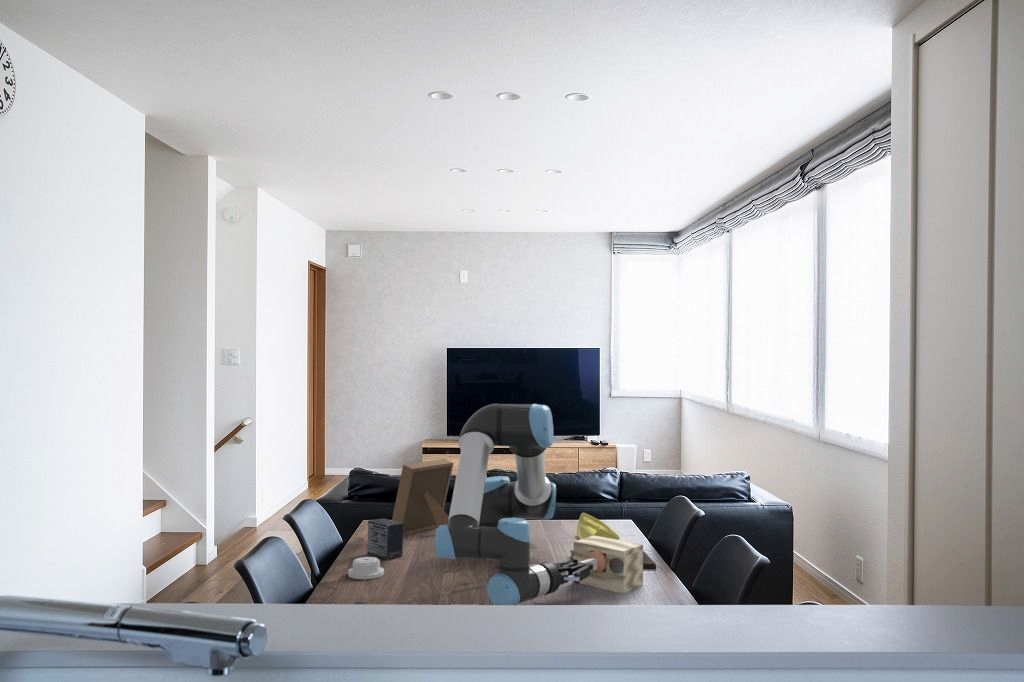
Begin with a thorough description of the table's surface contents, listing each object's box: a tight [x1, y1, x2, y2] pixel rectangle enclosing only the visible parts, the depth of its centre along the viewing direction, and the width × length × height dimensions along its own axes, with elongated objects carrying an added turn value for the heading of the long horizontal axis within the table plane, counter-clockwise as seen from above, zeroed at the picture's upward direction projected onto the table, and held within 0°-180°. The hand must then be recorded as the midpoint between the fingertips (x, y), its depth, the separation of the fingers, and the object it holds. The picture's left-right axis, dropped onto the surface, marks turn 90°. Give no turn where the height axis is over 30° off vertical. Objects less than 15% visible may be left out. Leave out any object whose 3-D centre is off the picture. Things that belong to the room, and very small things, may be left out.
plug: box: [586, 551, 607, 573], centre depth 201 cm, size 12×6×6 cm, turn 140°
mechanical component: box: [347, 556, 385, 580], centre depth 207 cm, size 10×4×10 cm
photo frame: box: [391, 458, 454, 537], centre depth 259 cm, size 15×22×25 cm
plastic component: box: [576, 512, 620, 540], centre depth 253 cm, size 20×7×10 cm
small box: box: [366, 517, 404, 560], centre depth 228 cm, size 11×6×10 cm, turn 47°
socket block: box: [573, 535, 644, 595], centre depth 201 cm, size 11×16×11 cm
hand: (595, 563), depth 196 cm, fingers closed
